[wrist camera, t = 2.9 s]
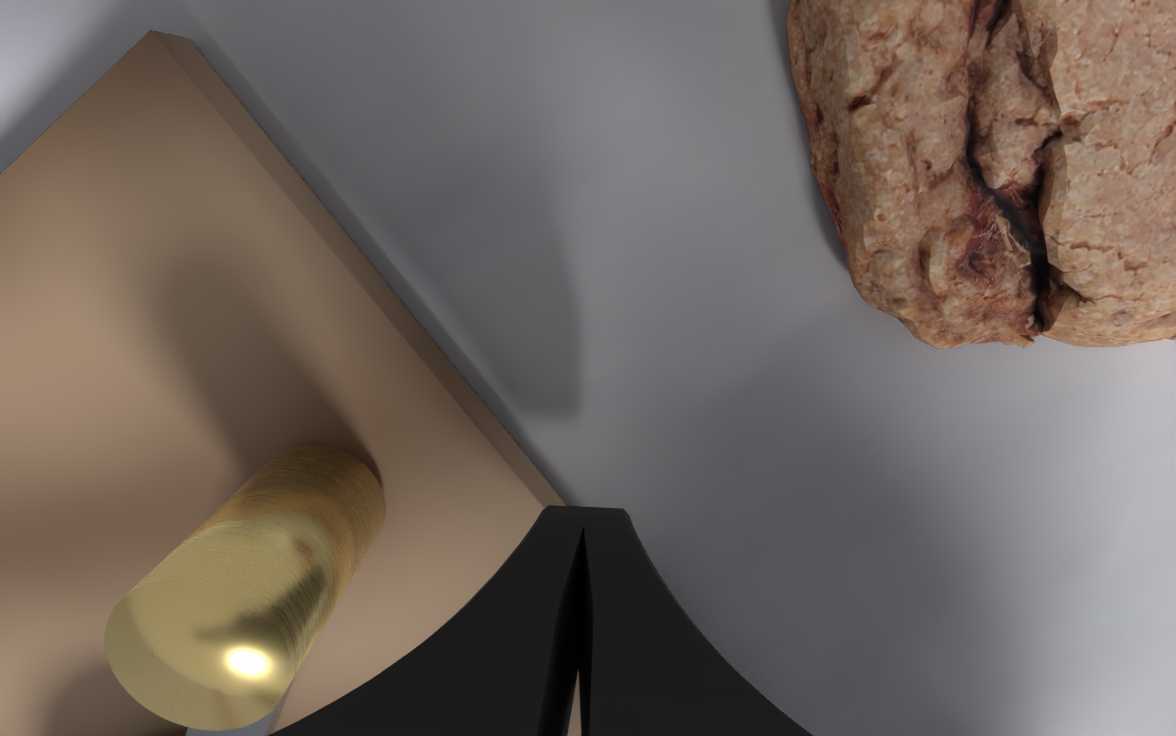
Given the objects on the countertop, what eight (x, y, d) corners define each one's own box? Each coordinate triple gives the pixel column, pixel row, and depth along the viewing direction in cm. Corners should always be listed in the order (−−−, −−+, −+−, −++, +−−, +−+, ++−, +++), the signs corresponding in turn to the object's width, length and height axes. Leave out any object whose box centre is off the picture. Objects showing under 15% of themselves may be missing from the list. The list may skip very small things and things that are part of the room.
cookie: (1264, 383, 13) (1447, 452, 10) (715, 300, 13) (744, 346, 10) (1584, -261, 10) (1977, -421, 7) (858, -380, 10) (958, -594, 7)
